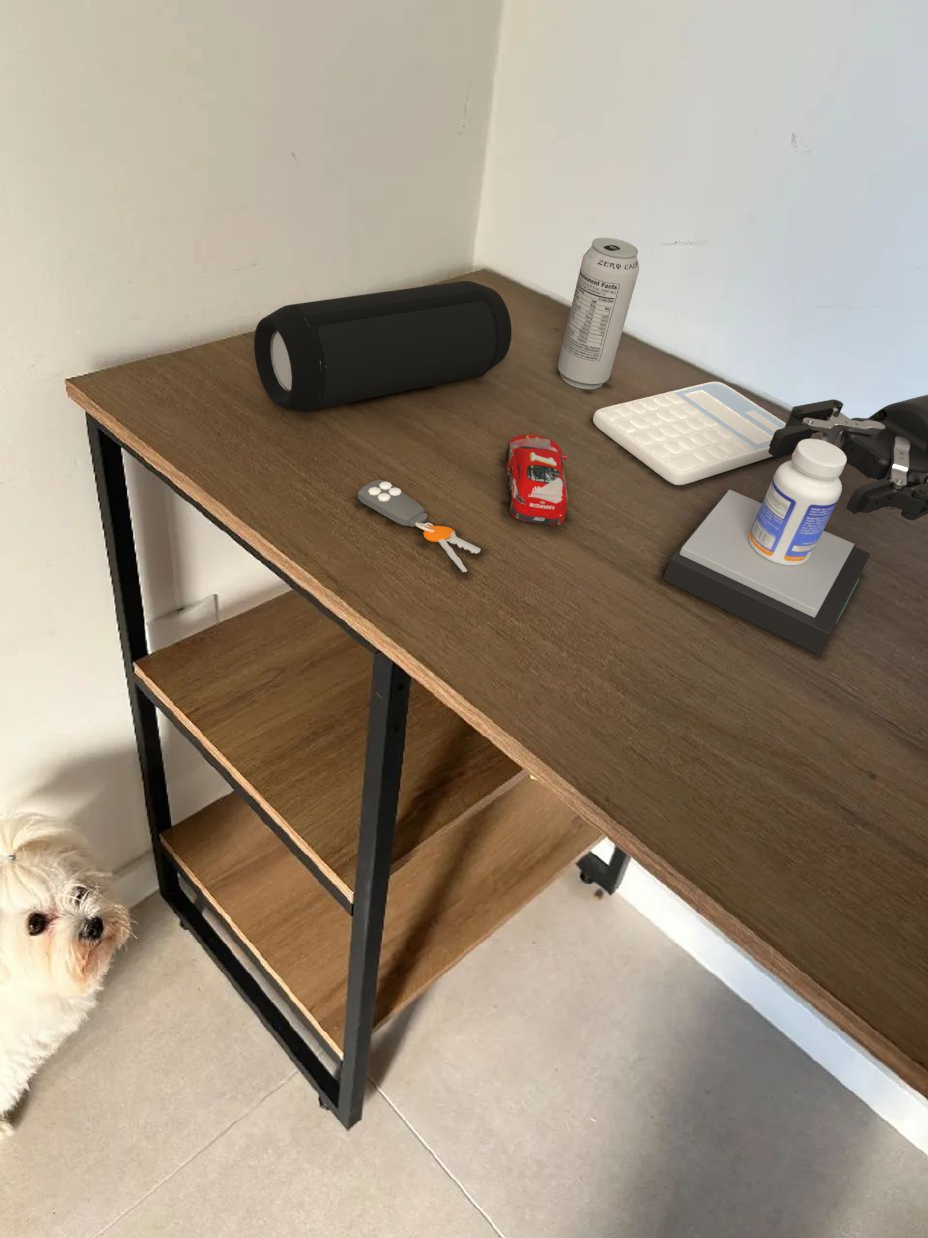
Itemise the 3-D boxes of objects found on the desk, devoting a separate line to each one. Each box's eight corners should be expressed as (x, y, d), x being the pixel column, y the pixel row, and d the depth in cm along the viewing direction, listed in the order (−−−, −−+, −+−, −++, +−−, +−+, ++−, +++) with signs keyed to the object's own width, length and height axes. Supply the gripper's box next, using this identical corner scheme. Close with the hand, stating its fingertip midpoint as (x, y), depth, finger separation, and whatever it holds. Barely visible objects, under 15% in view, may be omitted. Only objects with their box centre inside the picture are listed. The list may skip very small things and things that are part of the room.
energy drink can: (618, 385, 106) (655, 253, 96) (582, 396, 102) (616, 261, 93) (581, 361, 109) (613, 232, 99) (544, 371, 106) (574, 238, 96)
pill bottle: (810, 541, 82) (858, 445, 75) (807, 575, 78) (856, 477, 71) (750, 521, 83) (791, 426, 76) (743, 554, 79) (786, 456, 72)
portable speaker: (455, 349, 106) (468, 262, 100) (507, 389, 101) (525, 301, 94) (249, 387, 93) (249, 290, 87) (296, 436, 88) (300, 336, 81)
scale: (860, 574, 85) (876, 546, 83) (819, 656, 75) (835, 627, 73) (717, 510, 89) (729, 482, 87) (661, 579, 80) (672, 550, 78)
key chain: (352, 502, 81) (353, 487, 80) (381, 487, 84) (383, 473, 83) (463, 575, 76) (466, 561, 75) (492, 557, 78) (495, 543, 77)
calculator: (586, 422, 98) (591, 406, 97) (714, 390, 108) (719, 376, 107) (674, 490, 91) (680, 473, 90) (802, 449, 101) (809, 433, 100)
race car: (503, 448, 92) (511, 412, 89) (557, 456, 92) (566, 421, 90) (504, 526, 82) (512, 488, 79) (564, 535, 82) (575, 497, 80)
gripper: (885, 361, 85) (765, 388, 77) (1022, 441, 77) (905, 481, 69) (850, 433, 90) (735, 465, 82) (975, 515, 82) (861, 559, 74)
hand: (812, 472), depth 75 cm, fingers open, 8 cm apart
